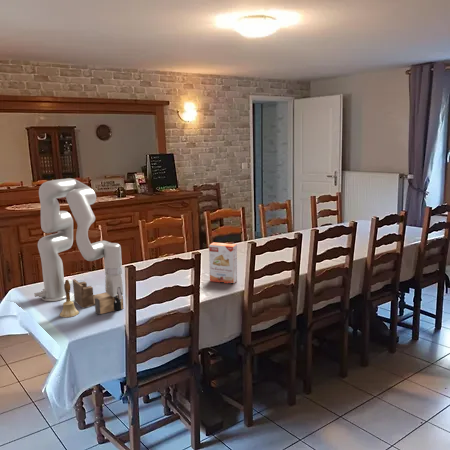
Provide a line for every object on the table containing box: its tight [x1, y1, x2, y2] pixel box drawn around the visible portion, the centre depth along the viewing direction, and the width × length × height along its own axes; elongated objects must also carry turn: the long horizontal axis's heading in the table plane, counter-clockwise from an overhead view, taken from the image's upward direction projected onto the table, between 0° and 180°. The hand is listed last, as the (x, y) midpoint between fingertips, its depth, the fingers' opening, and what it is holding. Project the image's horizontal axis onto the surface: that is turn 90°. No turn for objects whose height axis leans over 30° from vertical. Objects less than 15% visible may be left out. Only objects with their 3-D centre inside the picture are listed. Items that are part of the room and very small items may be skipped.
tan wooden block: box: [94, 295, 124, 315], centre depth 207 cm, size 12×4×6 cm, turn 126°
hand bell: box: [59, 279, 80, 318], centre depth 203 cm, size 8×8×16 cm
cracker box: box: [208, 241, 238, 284], centre depth 244 cm, size 14×6×21 cm, turn 68°
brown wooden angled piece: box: [72, 278, 110, 309], centre depth 219 cm, size 16×12×11 cm
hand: (115, 308), depth 209 cm, fingers closed on tan wooden block, 3 cm apart
